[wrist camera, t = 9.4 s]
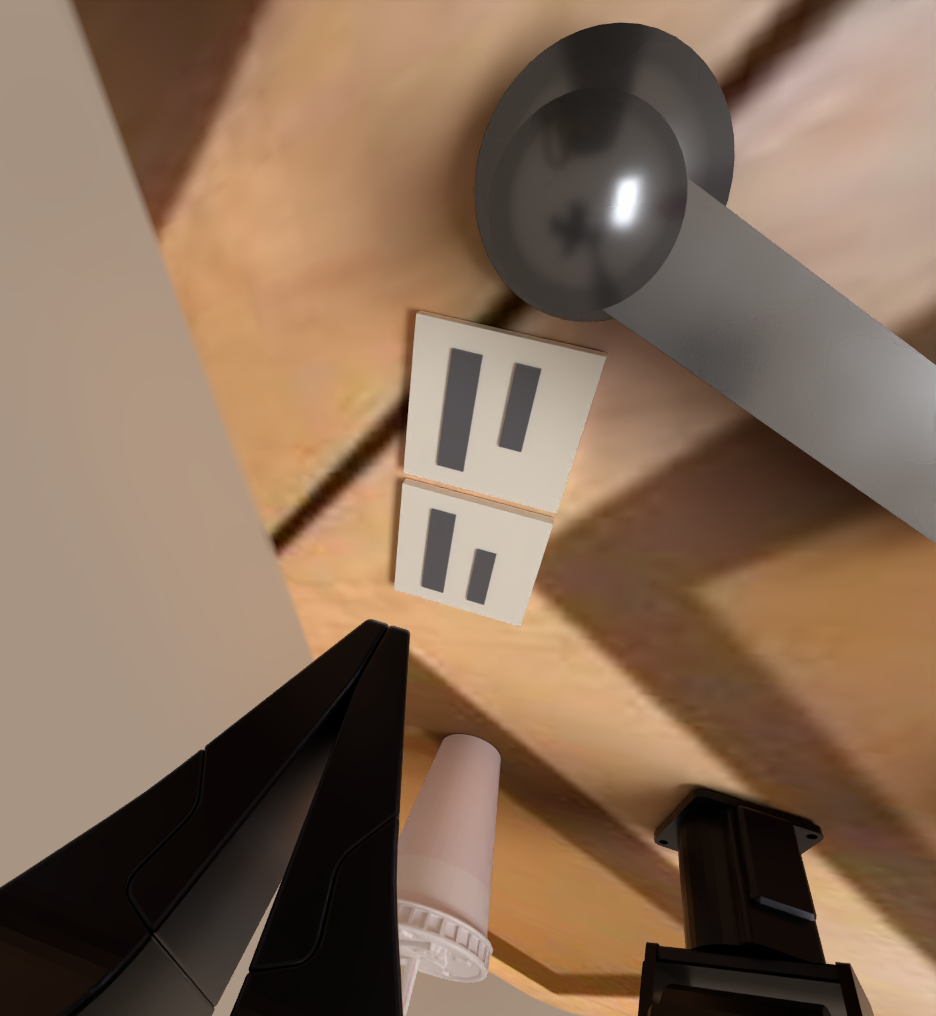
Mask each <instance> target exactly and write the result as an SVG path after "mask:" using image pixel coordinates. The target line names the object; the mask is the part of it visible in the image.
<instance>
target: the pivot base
mask: <svg viewBox="0 0 936 1016" xmlns="http://www.w3.org/2000/svg"><path fill="white" fill-rule="evenodd" d="M595 87H600V88H613V89H617V90H622V91H626V92H628V93H630V94H633V95H635V96H638V97H639V98H641V99H642V100H644V101H646V102H647V103H649V104H650V105H651V106H652V107H653V108H655V109H656V110H657V111H658V112H659V113H660V114H661V115H662V116H663V118H664V119H665V120H666V121H667V123H668V124H669V125H670V127H671V129H672V130H673V132H674V134H675V136H676V137H677V139H678V142H679V145H680V147H681V150H682V152H683V156H684V161H685V165H686V172H687V178H688V179H690V180H691V181H692V182H694V183H695V184H696V185H698V186H699V187H700V188H702V189H703V190H704V191H706V192H707V193H708V194H709V195H711V196H712V197H713V198H715V199H716V200H717V201H719V202H720V203H721V204H723V205H724V206H725V207H726V204H727V201H728V197H729V192H730V188H731V183H732V178H733V168H734V134H733V128H732V122H731V116H730V112H729V109H728V106H727V103H726V100H725V96H724V94H723V92H722V90H721V88H720V86H719V84H718V82H717V80H716V78H715V76H714V75H713V73H712V72H711V70H710V69H709V68H708V66H707V65H706V63H705V62H704V61H703V60H702V59H701V58H700V57H699V56H698V55H697V54H696V53H695V52H694V51H693V50H692V49H691V48H690V47H689V46H688V45H686V44H685V43H683V42H682V41H681V40H679V39H678V38H676V37H675V36H673V35H670V34H668V33H666V32H664V31H662V30H660V29H657V28H653V27H649V26H645V25H641V24H633V23H612V24H603V25H598V26H594V27H591V28H587V29H584V30H580V31H578V32H576V33H574V34H572V35H569V36H567V37H565V38H563V39H561V40H560V41H558V42H556V43H555V44H553V45H552V46H550V47H549V48H547V49H546V50H544V51H543V52H542V53H541V54H540V55H538V56H537V57H536V58H535V59H534V60H533V61H531V62H530V63H529V64H528V65H527V66H526V67H525V69H524V70H523V71H522V72H521V73H520V74H519V75H518V76H517V77H516V78H515V80H514V81H513V83H512V84H511V85H510V87H509V88H508V90H507V91H506V92H505V94H504V95H503V97H502V99H501V100H500V102H499V104H498V106H497V108H496V109H495V111H494V113H493V115H492V117H491V120H490V122H489V125H488V127H487V129H486V132H485V135H484V138H483V142H482V145H481V148H480V152H479V157H478V163H477V168H476V179H475V209H476V216H477V223H478V227H479V231H480V235H481V239H482V242H483V244H484V247H485V250H486V252H487V255H488V257H489V259H490V261H491V262H492V264H493V266H494V268H495V270H496V271H497V273H498V274H499V276H500V277H501V278H502V280H503V281H504V282H505V283H506V285H507V286H508V287H509V288H510V289H511V290H512V291H513V292H514V293H515V294H516V295H517V296H519V297H520V298H521V299H522V300H523V301H525V302H526V303H528V304H529V305H531V306H532V307H534V308H536V309H537V310H539V311H542V312H544V313H546V314H548V315H551V316H554V317H557V318H561V319H565V320H571V321H580V322H594V321H603V320H609V319H613V317H612V316H610V315H609V314H607V313H606V312H605V311H603V310H598V311H594V312H587V313H567V312H560V311H556V310H553V309H549V308H547V307H544V306H542V305H540V304H538V303H536V302H534V301H533V300H531V299H529V298H528V297H527V296H526V295H524V294H523V293H522V292H521V291H520V290H519V289H518V288H517V287H516V286H515V285H514V284H513V283H512V282H511V280H510V279H509V278H508V276H507V275H506V274H505V272H504V270H503V268H502V266H501V265H500V263H499V261H498V258H497V256H496V253H495V251H494V247H493V243H492V240H491V234H490V228H489V197H490V191H491V186H492V181H493V178H494V174H495V171H496V168H497V166H498V163H499V161H500V158H501V156H502V154H503V152H504V150H505V149H506V147H507V145H508V143H509V141H510V140H511V139H512V137H513V136H514V134H515V133H516V132H517V130H518V129H519V128H520V127H521V126H522V124H523V123H524V122H525V121H526V120H527V119H528V118H529V117H530V116H531V115H532V114H534V113H535V112H536V111H537V110H538V109H540V108H541V107H542V106H544V105H546V104H547V103H549V102H550V101H552V100H553V99H555V98H558V97H560V96H562V95H564V94H567V93H569V92H573V91H577V90H580V89H586V88H595Z"/></svg>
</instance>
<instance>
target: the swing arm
mask: <svg viewBox="0 0 936 1016" xmlns="http://www.w3.org/2000/svg"><path fill="white" fill-rule="evenodd" d="M489 228H490V234H491V240H492V243H493V247H494V251H495V253H496V256H497V258H498V261H499V263H500V265H501V266H502V268H503V270H504V272H505V274H506V275H507V276H508V278H509V279H510V280H511V282H512V283H513V284H514V285H515V286H516V287H517V288H518V289H519V290H520V291H521V292H522V293H523V294H524V295H526V296H527V297H528V298H529V299H531V300H533V301H534V302H536V303H538V304H540V305H542V306H544V307H547V308H549V309H553V310H556V311H560V312H567V313H587V312H594V311H598V310H603V311H605V312H606V313H607V314H609V315H610V316H612V317H613V318H615V319H616V320H617V321H619V322H620V323H622V324H623V325H625V326H626V327H627V328H629V329H630V330H632V331H633V332H635V333H636V334H637V335H639V336H640V337H642V338H643V339H645V340H646V341H647V342H649V343H650V344H652V345H653V346H655V347H656V348H657V349H659V350H660V351H662V352H663V353H665V354H666V355H667V356H669V357H670V358H672V359H673V360H675V361H676V362H677V363H679V364H680V365H682V366H683V367H684V368H686V369H687V370H689V371H690V372H692V373H693V374H694V375H696V376H697V377H699V378H700V379H702V380H703V381H704V382H706V383H707V384H709V385H710V386H712V387H713V388H714V389H716V390H717V391H719V392H720V393H722V394H723V395H724V396H726V397H727V398H729V399H730V400H732V401H733V402H734V403H736V404H737V405H739V406H740V407H742V408H743V409H744V410H746V411H747V412H749V413H750V414H752V415H753V416H754V417H756V418H757V419H759V420H760V421H762V422H763V423H764V424H766V425H767V426H769V427H770V428H772V429H773V430H774V431H776V432H777V433H779V434H780V435H781V436H783V437H784V438H786V439H787V440H789V441H790V442H791V443H793V444H794V445H796V446H797V447H799V448H800V449H801V450H803V451H804V452H806V453H807V454H809V455H810V456H811V457H813V458H814V459H816V460H817V461H819V462H820V463H821V464H823V465H824V466H826V467H827V468H829V469H830V470H831V471H833V472H834V473H836V474H837V475H839V476H840V477H841V478H843V479H844V480H846V481H847V482H849V483H850V484H851V485H853V486H854V487H856V488H857V489H859V490H860V491H861V492H863V493H864V494H866V495H867V496H868V497H870V498H871V499H873V500H874V501H876V502H877V503H878V504H880V505H881V506H883V507H884V508H886V509H887V510H888V511H890V512H891V513H893V514H894V515H896V516H897V517H898V518H900V519H901V520H903V521H904V522H906V523H907V524H908V525H910V526H911V527H913V528H914V529H916V530H917V531H918V532H920V533H921V534H923V535H924V536H926V537H927V538H928V539H930V540H931V541H933V542H934V543H936V365H935V364H933V363H932V362H931V361H929V360H928V359H927V358H925V357H924V356H923V355H921V354H920V353H919V352H917V351H916V350H915V349H913V348H912V347H911V346H909V345H908V344H907V343H906V342H904V341H903V340H902V339H900V338H899V337H898V336H896V335H895V334H894V333H892V332H891V331H890V330H888V329H887V328H886V327H884V326H883V325H882V324H880V323H879V322H878V321H876V320H875V319H874V318H872V317H871V316H870V315H868V314H867V313H866V312H864V311H863V310H862V309H860V308H859V307H858V306H857V305H855V304H854V303H853V302H851V301H850V300H849V299H847V298H846V297H845V296H843V295H842V294H841V293H839V292H838V291H837V290H835V289H834V288H833V287H831V286H830V285H829V284H827V283H826V282H825V281H823V280H822V279H821V278H819V277H818V276H817V275H815V274H814V273H813V272H811V271H810V270H809V269H808V268H806V267H805V266H804V265H802V264H801V263H800V262H798V261H797V260H796V259H794V258H793V257H792V256H790V255H789V254H788V253H786V252H785V251H784V250H782V249H781V248H780V247H778V246H777V245H776V244H774V243H773V242H772V241H770V240H769V239H768V238H766V237H765V236H764V235H762V234H761V233H760V232H758V231H757V230H756V229H755V228H753V227H752V226H751V225H749V224H748V223H747V222H745V221H744V220H743V219H741V218H740V217H739V216H737V215H736V214H735V213H733V212H732V211H731V210H729V209H728V208H727V207H725V206H724V205H723V204H721V203H720V202H719V201H717V200H716V199H715V198H713V197H712V196H711V195H709V194H708V193H707V192H706V191H704V190H703V189H702V188H700V187H699V186H698V185H696V184H695V183H694V182H692V181H691V180H690V179H688V178H687V172H686V165H685V161H684V156H683V152H682V150H681V147H680V145H679V142H678V139H677V137H676V136H675V134H674V132H673V130H672V129H671V127H670V125H669V124H668V123H667V121H666V120H665V119H664V118H663V116H662V115H661V114H660V113H659V112H658V111H657V110H656V109H655V108H653V107H652V106H651V105H650V104H649V103H647V102H646V101H644V100H642V99H641V98H639V97H638V96H635V95H633V94H630V93H628V92H626V91H622V90H617V89H613V88H600V87H595V88H586V89H580V90H577V91H573V92H569V93H567V94H564V95H562V96H560V97H558V98H555V99H553V100H552V101H550V102H549V103H547V104H546V105H544V106H542V107H541V108H540V109H538V110H537V111H536V112H535V113H534V114H532V115H531V116H530V117H529V118H528V119H527V120H526V121H525V122H524V123H523V124H522V126H521V127H520V128H519V129H518V130H517V132H516V133H515V134H514V136H513V137H512V139H511V140H510V141H509V143H508V145H507V147H506V149H505V150H504V152H503V154H502V156H501V158H500V161H499V163H498V166H497V168H496V171H495V174H494V178H493V181H492V186H491V191H490V197H489Z"/></svg>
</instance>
